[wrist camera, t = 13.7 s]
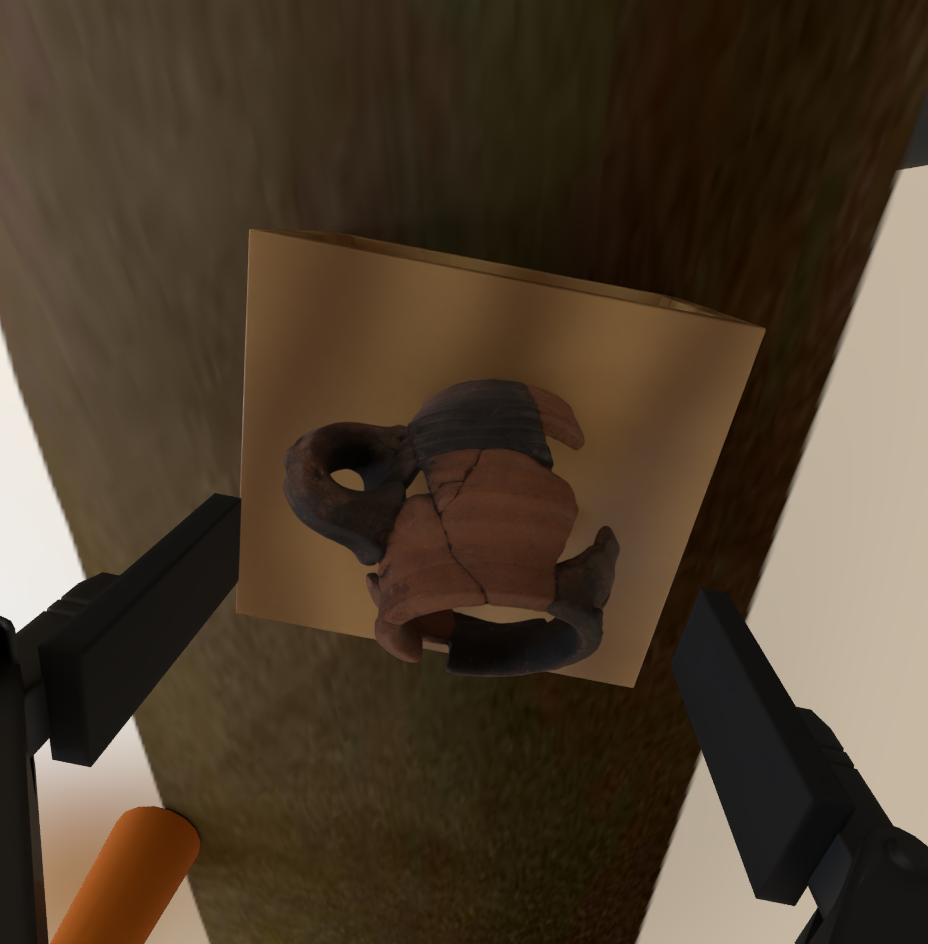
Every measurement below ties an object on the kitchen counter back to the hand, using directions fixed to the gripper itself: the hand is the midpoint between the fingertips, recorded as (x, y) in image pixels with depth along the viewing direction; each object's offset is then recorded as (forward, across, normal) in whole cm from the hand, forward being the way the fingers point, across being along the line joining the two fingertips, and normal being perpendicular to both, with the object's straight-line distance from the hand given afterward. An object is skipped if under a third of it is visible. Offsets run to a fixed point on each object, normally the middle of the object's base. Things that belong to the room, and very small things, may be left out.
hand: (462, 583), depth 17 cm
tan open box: (+18, 0, 0) cm, 18 cm away
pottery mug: (+7, 0, 0) cm, 7 cm away
